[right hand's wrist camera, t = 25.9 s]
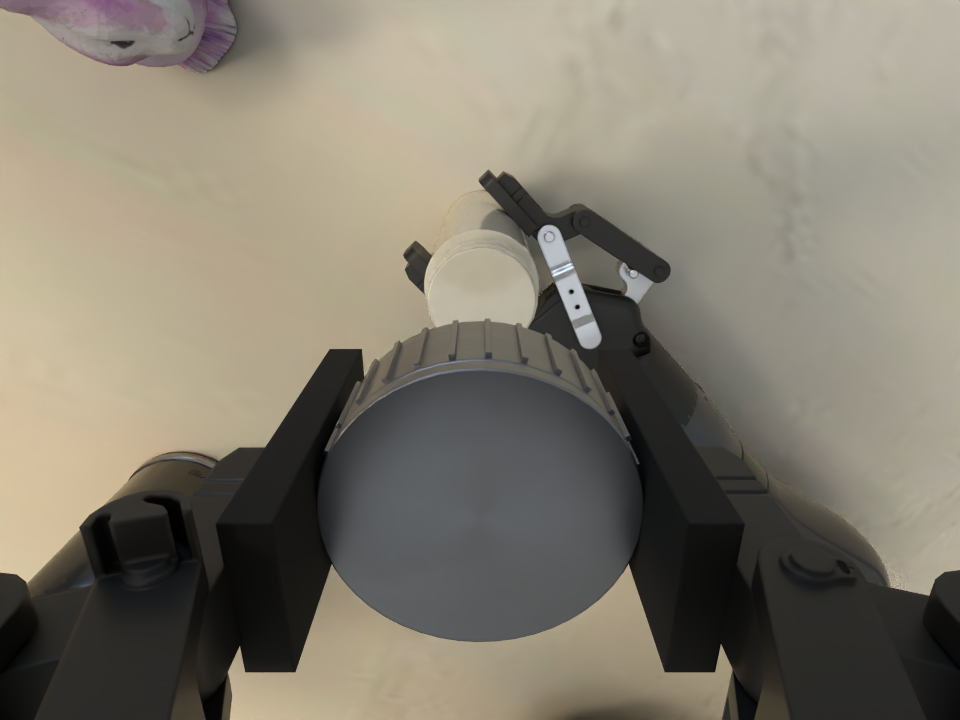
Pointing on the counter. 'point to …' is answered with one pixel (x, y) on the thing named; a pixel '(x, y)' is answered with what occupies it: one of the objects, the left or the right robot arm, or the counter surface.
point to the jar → (481, 266)
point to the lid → (480, 484)
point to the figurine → (138, 29)
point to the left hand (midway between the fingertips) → (446, 213)
